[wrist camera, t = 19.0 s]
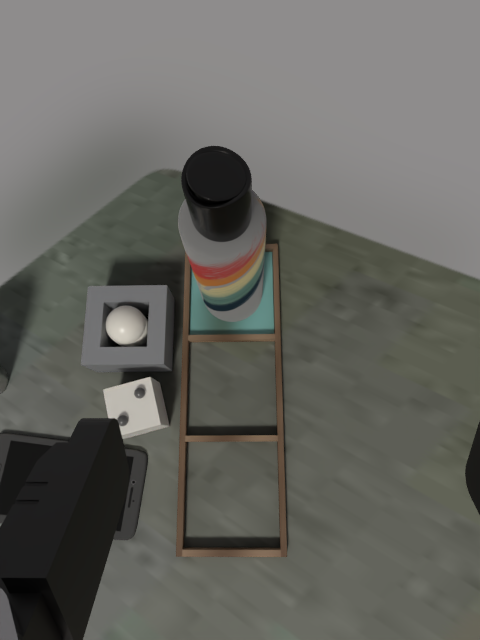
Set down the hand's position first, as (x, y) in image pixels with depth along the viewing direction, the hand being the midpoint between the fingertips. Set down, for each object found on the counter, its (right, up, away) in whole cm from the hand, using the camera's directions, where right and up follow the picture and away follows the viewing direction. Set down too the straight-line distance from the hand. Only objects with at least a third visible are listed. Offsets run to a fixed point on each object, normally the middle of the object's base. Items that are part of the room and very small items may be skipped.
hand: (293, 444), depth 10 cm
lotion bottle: (-2, +5, +33) cm, 33 cm away
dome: (-11, +2, +31) cm, 33 cm away
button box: (-11, +1, +32) cm, 34 cm away
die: (-10, -5, +30) cm, 32 cm away
